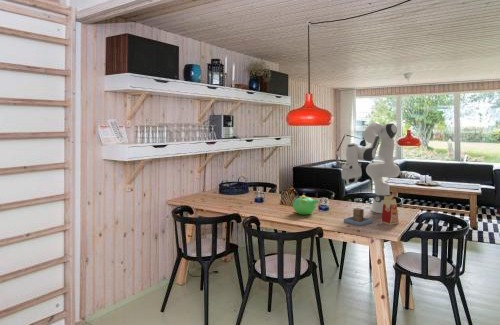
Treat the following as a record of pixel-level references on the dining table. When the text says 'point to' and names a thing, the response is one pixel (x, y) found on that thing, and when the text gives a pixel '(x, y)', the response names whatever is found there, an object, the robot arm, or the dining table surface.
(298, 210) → the green teapot
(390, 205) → the milk carton
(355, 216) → the walnut block
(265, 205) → the dining table surface
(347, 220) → the slate tray
